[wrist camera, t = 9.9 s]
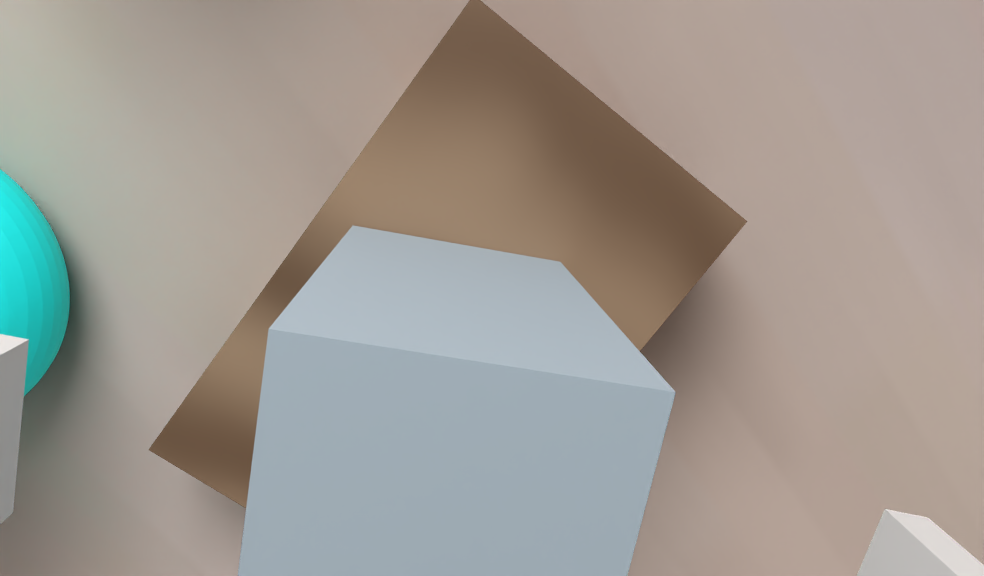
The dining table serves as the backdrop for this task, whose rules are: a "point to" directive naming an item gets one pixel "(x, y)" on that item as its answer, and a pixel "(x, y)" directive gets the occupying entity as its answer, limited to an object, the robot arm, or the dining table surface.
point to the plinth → (480, 214)
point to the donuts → (31, 280)
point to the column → (449, 420)
